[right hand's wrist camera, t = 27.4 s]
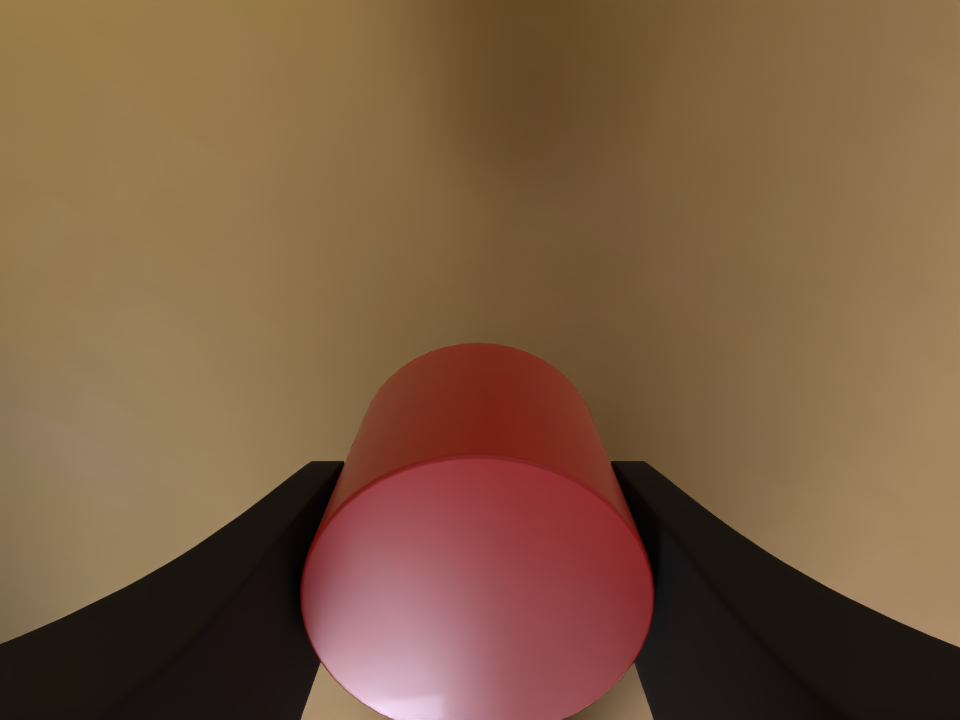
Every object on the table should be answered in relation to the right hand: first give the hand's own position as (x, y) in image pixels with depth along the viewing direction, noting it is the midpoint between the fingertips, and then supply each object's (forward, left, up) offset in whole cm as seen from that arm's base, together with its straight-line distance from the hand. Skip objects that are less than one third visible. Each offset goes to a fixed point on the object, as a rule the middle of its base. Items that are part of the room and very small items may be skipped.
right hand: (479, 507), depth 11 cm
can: (0, 0, -2) cm, 2 cm away
